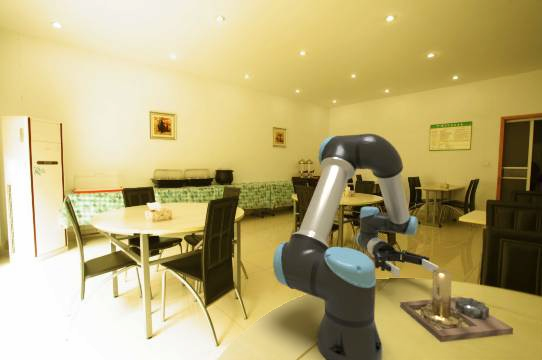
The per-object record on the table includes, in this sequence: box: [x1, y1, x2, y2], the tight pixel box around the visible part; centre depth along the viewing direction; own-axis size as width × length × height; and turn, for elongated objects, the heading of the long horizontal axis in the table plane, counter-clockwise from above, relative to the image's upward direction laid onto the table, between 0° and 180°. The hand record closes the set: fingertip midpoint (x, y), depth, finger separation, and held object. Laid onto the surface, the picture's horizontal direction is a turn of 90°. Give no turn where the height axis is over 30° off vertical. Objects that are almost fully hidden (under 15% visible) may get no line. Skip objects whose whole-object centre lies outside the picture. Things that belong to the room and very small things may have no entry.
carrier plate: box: [399, 296, 514, 343], centre depth 74 cm, size 21×16×2 cm
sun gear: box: [455, 296, 490, 320], centre depth 75 cm, size 8×8×2 cm
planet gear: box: [420, 268, 463, 330], centre depth 73 cm, size 10×10×14 cm
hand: (418, 271), depth 82 cm, fingers open, 13 cm apart
